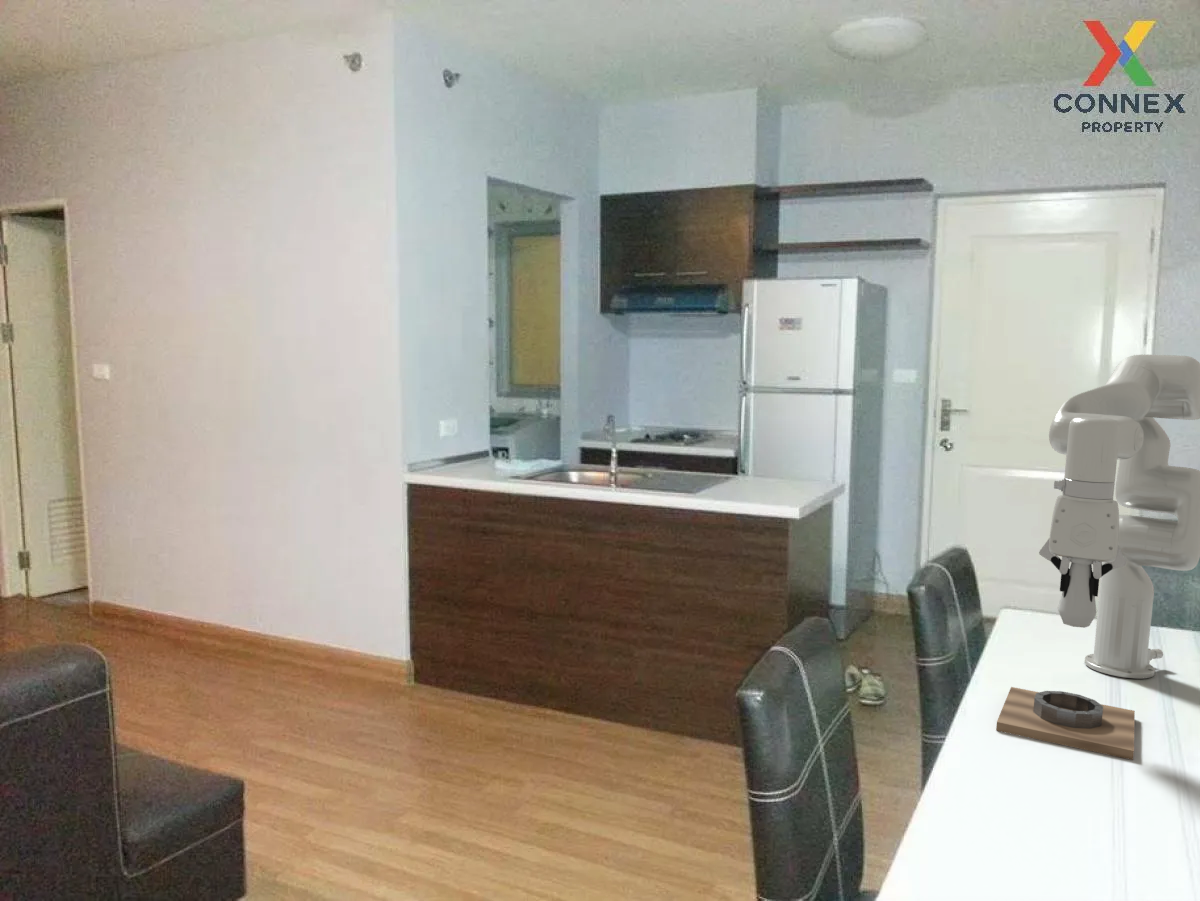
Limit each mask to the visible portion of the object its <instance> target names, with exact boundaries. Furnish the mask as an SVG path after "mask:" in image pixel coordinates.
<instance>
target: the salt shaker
mask: <svg viewBox="0 0 1200 901" xmlns="http://www.w3.org/2000/svg"><path fill="white" fill-rule="evenodd" d="M1069 569H1070V572H1069V576H1070V584H1069V587H1068V591H1067V594H1066V596H1065V597H1064V591H1063V592H1062V591H1061V592H1062V593H1061V596H1060V599H1059V603H1058V606H1057V612H1058V613H1059V614H1058V615H1059V616H1060V618H1061V621H1062V623H1063V624H1064V625H1066V626H1070V627H1074V628H1085V629H1086V628H1088V627H1090V626H1091V624H1092V623H1093V621H1094V619H1095V618H1096V616H1097V614H1098V611H1097V604H1096V596H1093V598H1092V602H1091V601H1090V595H1089V593H1090V592H1089V579H1090V578H1091V574H1092V572H1093V561H1092V560H1084V559H1076V558H1070V565H1069Z"/></svg>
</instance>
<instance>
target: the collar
mask: <svg viewBox="0 0 1200 901" xmlns="http://www.w3.org/2000/svg"><path fill="white" fill-rule="evenodd" d="M1038 692H1039V693H1036V695H1035V698H1034V709H1033V712H1034V713H1035V714H1036V715H1037V716H1039V717H1040V718H1041V719H1044V720H1046V721H1049V722H1051V723H1054V724H1057V725H1062V726H1067V727H1071V728H1085V729H1092V728H1096V727H1099V726H1101V724H1102V715H1103V706H1102V705H1103V704H1102V703H1099V702H1098V701H1096V700H1095V699H1093V698H1090V697H1086V696H1084V695H1081V694H1078V693H1072V692H1068V691H1067V692H1066V691H1061V690H1058V691H1057V690H1044V691H1038ZM1101 704H1102V705H1101ZM1058 707H1062V708H1067V709H1072V710H1076V711H1072V710H1067V709H1062V708H1058Z"/></svg>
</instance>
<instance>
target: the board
mask: <svg viewBox="0 0 1200 901" xmlns="http://www.w3.org/2000/svg"><path fill="white" fill-rule="evenodd" d="M1039 692H1040V691H1034V690H1030V689H1026V688H1025V689H1024V688H1020V687H1014V686H1011V687H1010V689H1009V691H1008V694H1007V696H1006V699H1005V701H1004V703H1003V705H1002V708H1001V710H1000V712H999V716H998V718H997V720H996V725H995V726H996V727H995V731H996V730H997V731H998V732H1001V731H1002V733H1005V732H1006V733H1005V734H1010V733H1011V734H1010V735H1016V736H1019V735H1020V736H1019V737H1023V738H1024V737H1025V738H1028V737H1029V739H1034V740H1037V741H1043V742H1048V743H1053V744H1056V745H1057V744H1058V745H1061V746H1066V747H1070V748H1075V749H1081V750H1085V751H1089V752H1094V753H1099V754H1103V755H1108V756H1113V757H1117V758H1120V759H1126V760H1131V761H1133V760H1134V755H1135V752H1134V751H1135V718H1136V717H1135V715H1136V714H1135V713H1136V712H1135V710H1133V709H1128V708H1123V707H1117V706H1111V705H1107V704H1102V703H1100V704H1101V705H1102V706H1103V715H1102V724H1101V726H1099V727H1096V728H1092V729H1085V728H1071V727H1067V726H1062V725H1057V724H1054V723H1051V722H1049V721H1046V720H1044V719H1041V718H1040V717H1039V716H1037V715H1036V714H1035V713H1034V712H1033V709H1034V698H1035V695H1036V693H1039ZM1058 708H1062V707H1058ZM1062 709H1067V708H1062ZM1067 710H1072V709H1067ZM1072 711H1076V710H1072Z"/></svg>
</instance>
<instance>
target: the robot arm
mask: <svg viewBox="0 0 1200 901" xmlns="http://www.w3.org/2000/svg"><path fill="white" fill-rule="evenodd" d="M1155 418H1156V419H1170V420H1171V419H1172V420H1183V421H1187V420H1188V421H1195V420H1196V421H1197V420H1200V362H1199V361H1198V360H1197V359H1196V358H1194V357H1192V356H1188V355H1177V354H1176V355H1170V354H1167V355H1166V354H1136V355H1135V354H1134V355H1130V356H1128V357H1125V358H1124V359H1122V360H1121V361H1119V363H1118V364H1117V366H1116V367H1115V369H1114V370H1113V371H1112V373H1111V374H1110V376H1109V377H1108V380H1107V381H1106V383H1105V384H1104V385H1101V386H1097V387H1094V388H1092V389H1090V390H1087V391H1084V392H1081V393H1077V394H1076V395H1073V396H1072V397H1069V398H1067V400H1065V401H1064V402H1063V403H1062V404H1061V406H1060V408H1059V409H1058V410H1057V412H1056V414H1054V416H1053V419H1052V422H1051V424H1050V427H1049V430H1048V431H1049V432H1048V439H1049V444H1050V446H1051V448H1052V449H1053V450H1054V451H1055V452H1057V453H1059V454H1062V455H1065V456H1066V457H1065V467H1064V478H1063V479H1062V480H1059V481H1058V480H1054V482H1053V483H1054V484H1053V489H1054V490H1055V489H1057V490H1059V491H1060V492H1062V495H1059V496H1057V498H1056V501H1055V505H1054V507H1053V512H1052V518H1051V525H1050V531H1049V537H1048V539H1047V541H1046V542H1044V544H1043V546H1042V547H1041V549H1039V552H1038V554H1039V555H1040V556H1041V557H1043V558H1044V559H1046V560H1048V561H1049V562H1050V563H1051V564H1052V565H1053V566H1054V567H1055V568H1056V570H1058V572H1059V573H1060V582H1059V585H1060V586H1059V592H1063V591H1064V597H1065V596H1066V594H1067V591H1068V587H1069V584H1070V576H1069V572H1070V564H1071V562H1070V558H1076V559H1084V560H1092V561H1093V564H1092V574H1091V578H1090V579H1089V592H1090V593H1089V595H1090V601H1091V602H1092V598H1093V596H1095V598H1097V597H1098V605H1097V606H1098V607H1097V613H1096V616H1097V617H1096V626H1095V627H1096V628H1095V637H1094V639H1095V640H1094V645H1093V646H1094V647H1093V653H1091V654H1087V655H1085V657H1084V665H1086V666H1087V667H1089V668H1090V669H1092V670H1094V671H1097V672H1099V673H1102V674H1106V675H1109V676H1113V677H1119V678H1124V679H1125V678H1126V679H1140V680H1143V679H1149V678H1152V677H1154V676H1155V675H1156V674H1155V673H1156V668H1155V667H1154V666H1153V665H1151V663H1150V661H1152V660H1156V659H1161V658H1163V656H1164V651H1163V650H1162V649H1160V648H1155V649H1154V648H1153V649H1151V648H1149V645H1150V634H1151V625H1152V615H1153V605H1154V604H1153V603H1154V593H1155V589H1154V587H1155V586H1154V583H1153V581H1152V579H1151V577H1150V575H1148V572H1146V570H1145V569H1144V568H1143V566H1145V567H1153V568H1160V569H1167V570H1172V571H1173V570H1174V571H1180V572H1181V571H1182V572H1189V571H1191V570H1193V569H1195V568H1196V567H1197V565H1198V564H1199V562H1200V470H1199V469H1196V468H1193V467H1184V466H1174V465H1169V455H1170V451H1171V450H1170V449H1171V440H1170V437H1169V436H1168V434H1167V433H1166V431H1165V430H1164V428H1163V427H1162V426H1161V424H1159V422H1157V420H1155ZM1118 460H1119V461H1118ZM1117 461H1118V467H1117ZM1114 492H1115V499H1116V500H1114ZM1119 505H1120V506H1121V507H1124V508H1127V509H1130V510H1131V509H1132V510H1136V511H1137V510H1138V511H1143V512H1144V511H1145V512H1152V513H1161V514H1168V515H1172V516H1173V515H1174V516H1175V517H1176V519H1177V521H1176V520H1167V519H1161V518H1160V519H1159V518H1153V517H1147V516H1138V515H1131V514H1130V515H1128V514H1121V515H1120V512H1119V510H1120V509H1119ZM1060 557H1061V558H1060Z"/></svg>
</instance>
